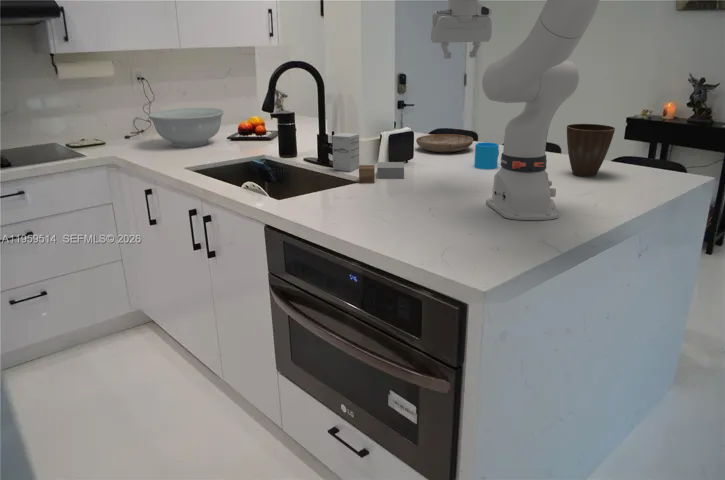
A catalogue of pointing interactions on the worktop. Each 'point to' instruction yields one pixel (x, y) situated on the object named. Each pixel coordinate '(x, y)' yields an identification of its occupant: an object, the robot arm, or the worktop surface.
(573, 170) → the plant pot
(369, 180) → the walnut cube
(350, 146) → the supplement box
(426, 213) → the worktop surface
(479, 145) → the mug
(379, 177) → the grey base
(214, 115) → the bowl
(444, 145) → the shallow wooden dish
